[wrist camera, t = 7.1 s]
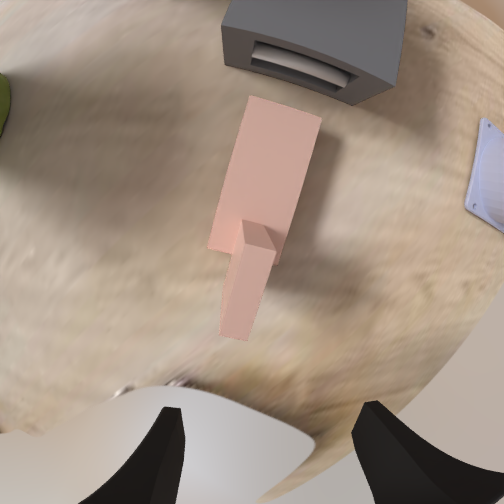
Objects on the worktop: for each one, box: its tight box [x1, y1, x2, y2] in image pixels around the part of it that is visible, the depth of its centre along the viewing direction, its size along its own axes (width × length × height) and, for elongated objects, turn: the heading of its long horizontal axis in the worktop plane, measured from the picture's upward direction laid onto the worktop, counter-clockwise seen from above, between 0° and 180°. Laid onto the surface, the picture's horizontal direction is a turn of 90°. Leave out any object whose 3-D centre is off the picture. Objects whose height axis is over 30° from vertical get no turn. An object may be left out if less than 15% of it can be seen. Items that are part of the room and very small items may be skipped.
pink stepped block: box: [207, 95, 322, 341], centre depth 13 cm, size 4×10×5 cm, turn 164°
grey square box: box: [221, 0, 408, 106], centre depth 11 cm, size 8×8×5 cm
